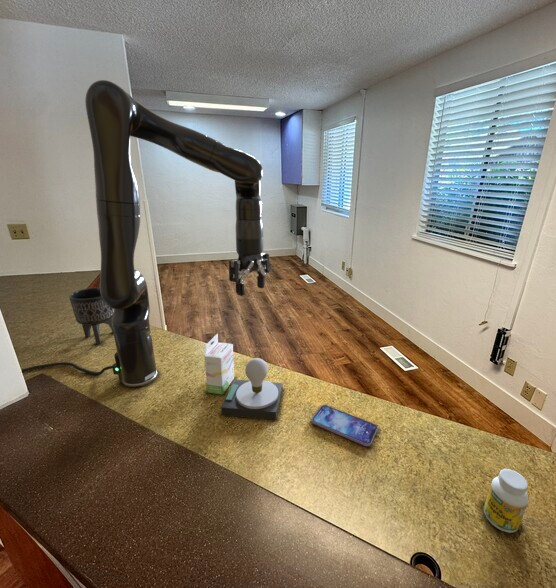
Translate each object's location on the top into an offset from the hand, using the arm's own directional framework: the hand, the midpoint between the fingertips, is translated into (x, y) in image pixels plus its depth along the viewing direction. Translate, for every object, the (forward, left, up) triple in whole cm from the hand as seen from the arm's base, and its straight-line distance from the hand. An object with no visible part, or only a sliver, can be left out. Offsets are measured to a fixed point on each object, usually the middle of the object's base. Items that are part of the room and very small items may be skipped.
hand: (251, 291), depth 89 cm
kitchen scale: (+4, -16, -26) cm, 31 cm away
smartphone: (+28, -22, -26) cm, 44 cm away
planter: (-61, +12, -26) cm, 67 cm away
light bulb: (+5, -16, -23) cm, 29 cm away
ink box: (-7, -10, -26) cm, 29 cm away
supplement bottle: (+55, -41, -26) cm, 73 cm away
